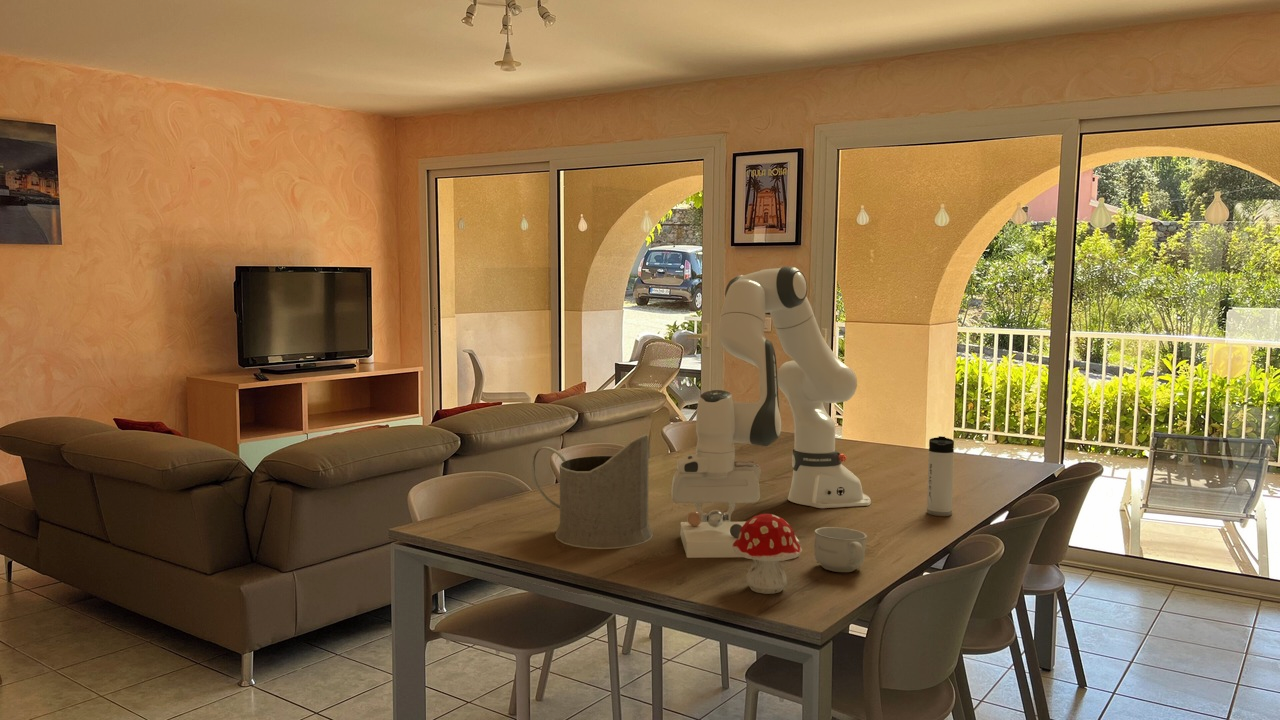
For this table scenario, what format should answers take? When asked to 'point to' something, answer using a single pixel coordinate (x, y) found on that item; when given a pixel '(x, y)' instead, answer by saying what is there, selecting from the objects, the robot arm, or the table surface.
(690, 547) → the white slab
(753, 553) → the decorative mushroom
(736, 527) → the black rubber ball
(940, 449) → the travel mug
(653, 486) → the table surface
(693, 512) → the terracotta ball
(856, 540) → the teacup
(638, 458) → the pitcher
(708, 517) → the steel ball
